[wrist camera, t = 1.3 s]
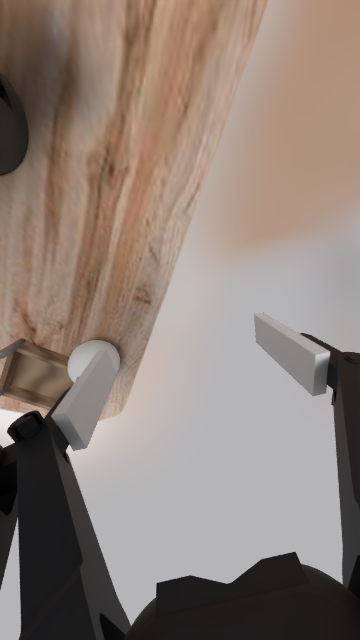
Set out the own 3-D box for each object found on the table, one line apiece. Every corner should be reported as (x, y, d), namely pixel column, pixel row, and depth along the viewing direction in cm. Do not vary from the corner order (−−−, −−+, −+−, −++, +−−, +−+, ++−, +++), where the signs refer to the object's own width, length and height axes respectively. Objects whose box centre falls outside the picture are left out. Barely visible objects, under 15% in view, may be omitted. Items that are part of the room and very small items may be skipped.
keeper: (5, 385, 45) (-18, 403, 39) (20, 337, 41) (-3, 350, 35) (64, 404, 48) (50, 423, 43) (83, 362, 44) (71, 377, 39)
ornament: (83, 369, 45) (56, 406, 34) (79, 332, 42) (46, 360, 30) (124, 369, 46) (111, 406, 35) (123, 333, 43) (108, 361, 31)
